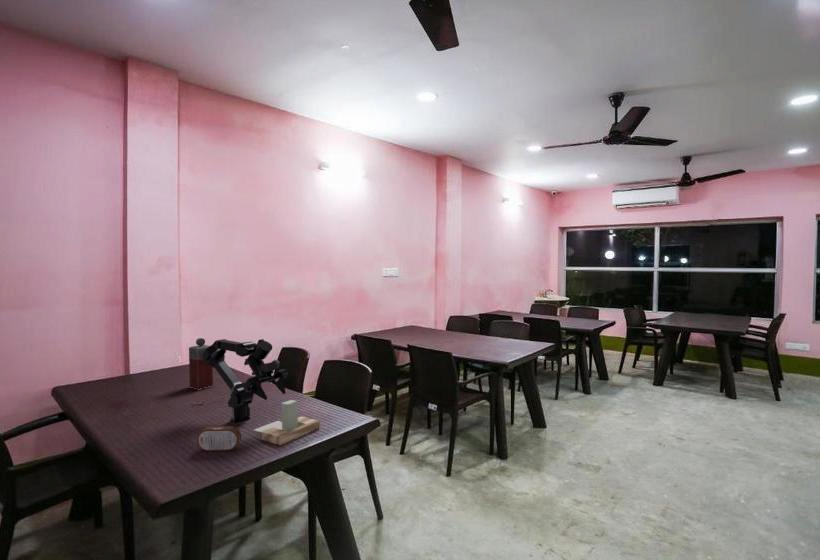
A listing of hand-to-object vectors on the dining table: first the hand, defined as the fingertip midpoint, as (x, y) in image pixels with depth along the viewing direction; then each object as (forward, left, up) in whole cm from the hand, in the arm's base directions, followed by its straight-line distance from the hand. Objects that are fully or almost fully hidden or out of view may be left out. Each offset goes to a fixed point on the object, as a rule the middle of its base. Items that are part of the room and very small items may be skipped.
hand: (275, 396), depth 169 cm
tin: (-24, -6, -14) cm, 28 cm away
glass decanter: (-9, +91, -14) cm, 93 cm away
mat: (-1, +1, -13) cm, 14 cm away
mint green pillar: (+2, -8, -14) cm, 16 cm away
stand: (+2, -8, -13) cm, 16 cm away
